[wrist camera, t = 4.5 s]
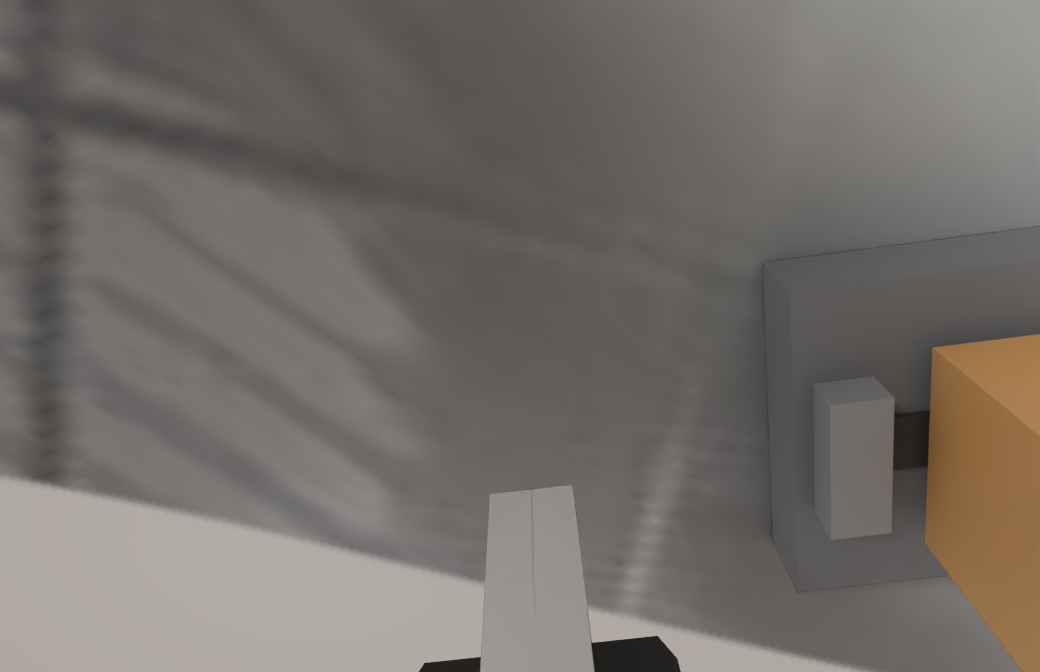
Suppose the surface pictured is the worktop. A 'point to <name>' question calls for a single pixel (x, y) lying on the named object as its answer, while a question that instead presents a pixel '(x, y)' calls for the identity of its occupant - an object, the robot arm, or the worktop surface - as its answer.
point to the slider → (989, 483)
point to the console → (874, 392)
